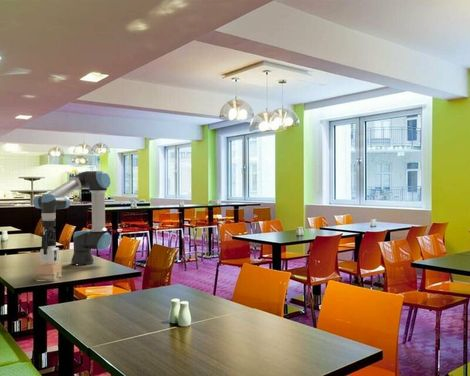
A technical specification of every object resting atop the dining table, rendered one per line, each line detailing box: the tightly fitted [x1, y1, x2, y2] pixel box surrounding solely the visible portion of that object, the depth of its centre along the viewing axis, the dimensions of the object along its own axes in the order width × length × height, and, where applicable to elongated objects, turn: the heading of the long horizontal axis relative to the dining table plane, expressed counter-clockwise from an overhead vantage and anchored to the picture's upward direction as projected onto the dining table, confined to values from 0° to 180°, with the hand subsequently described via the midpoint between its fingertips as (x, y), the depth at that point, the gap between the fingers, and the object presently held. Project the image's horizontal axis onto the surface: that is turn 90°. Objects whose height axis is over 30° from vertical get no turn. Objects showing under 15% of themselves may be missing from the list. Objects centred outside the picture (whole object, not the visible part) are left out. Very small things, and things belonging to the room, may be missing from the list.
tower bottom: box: [34, 271, 63, 281], centre depth 260 cm, size 11×11×4 cm
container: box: [39, 239, 60, 264], centre depth 260 cm, size 8×8×13 cm
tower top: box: [34, 262, 63, 275], centre depth 260 cm, size 11×11×4 cm
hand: (49, 258), depth 260 cm, fingers closed on container, 8 cm apart
